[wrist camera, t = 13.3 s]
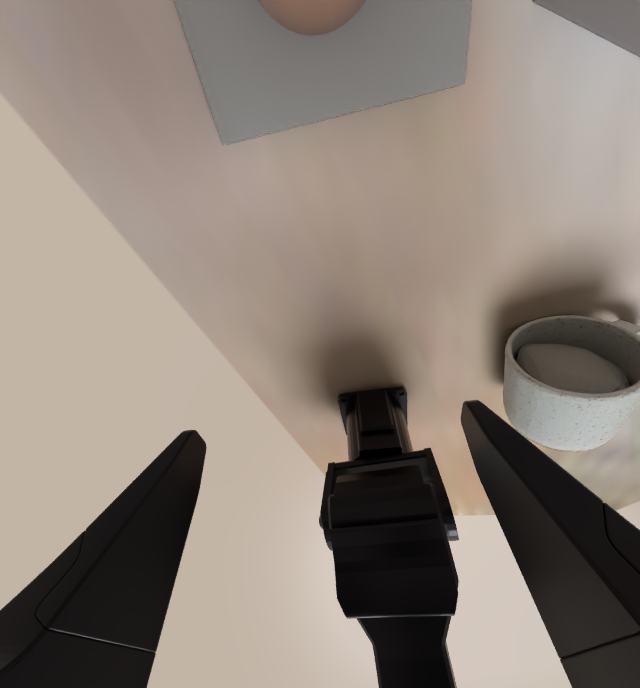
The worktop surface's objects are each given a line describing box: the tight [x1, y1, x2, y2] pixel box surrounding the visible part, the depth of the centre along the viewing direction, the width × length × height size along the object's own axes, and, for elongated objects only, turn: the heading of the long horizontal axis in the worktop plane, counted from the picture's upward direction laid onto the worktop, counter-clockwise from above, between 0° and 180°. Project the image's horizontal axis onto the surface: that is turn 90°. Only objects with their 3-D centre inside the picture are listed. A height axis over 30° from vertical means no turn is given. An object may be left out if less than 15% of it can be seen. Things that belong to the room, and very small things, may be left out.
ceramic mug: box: [503, 315, 640, 452], centre depth 21 cm, size 11×8×8 cm
